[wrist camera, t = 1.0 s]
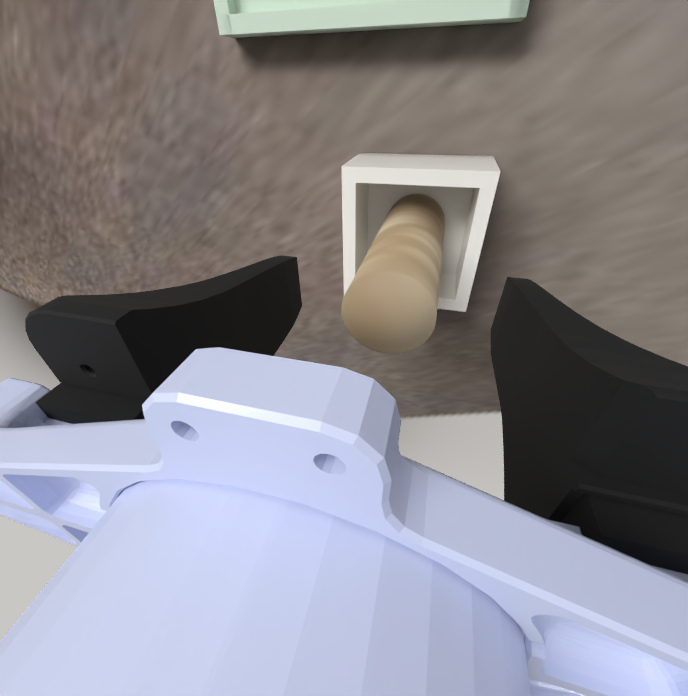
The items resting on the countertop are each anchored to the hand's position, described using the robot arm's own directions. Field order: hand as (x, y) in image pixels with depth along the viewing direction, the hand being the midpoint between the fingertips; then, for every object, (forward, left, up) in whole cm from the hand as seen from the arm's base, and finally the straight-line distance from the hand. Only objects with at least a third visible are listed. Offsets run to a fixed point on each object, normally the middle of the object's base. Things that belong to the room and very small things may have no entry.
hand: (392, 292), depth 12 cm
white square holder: (0, 0, -8) cm, 8 cm away
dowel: (0, 0, -7) cm, 7 cm away
